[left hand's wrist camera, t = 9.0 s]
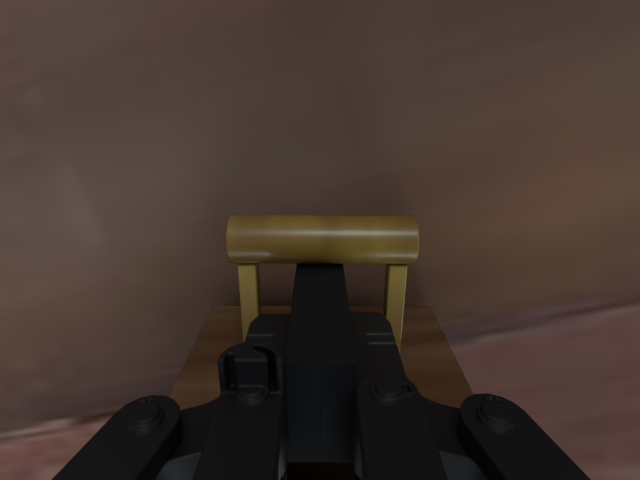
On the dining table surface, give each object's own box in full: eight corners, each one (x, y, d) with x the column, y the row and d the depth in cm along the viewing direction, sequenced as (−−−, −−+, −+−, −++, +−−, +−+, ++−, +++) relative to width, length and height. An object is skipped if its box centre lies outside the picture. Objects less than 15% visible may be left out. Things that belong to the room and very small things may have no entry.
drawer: (200, 182, 17) (120, 246, 10) (444, 183, 17) (526, 248, 10) (239, 564, 25) (209, 736, 19) (401, 565, 25) (430, 738, 19)
